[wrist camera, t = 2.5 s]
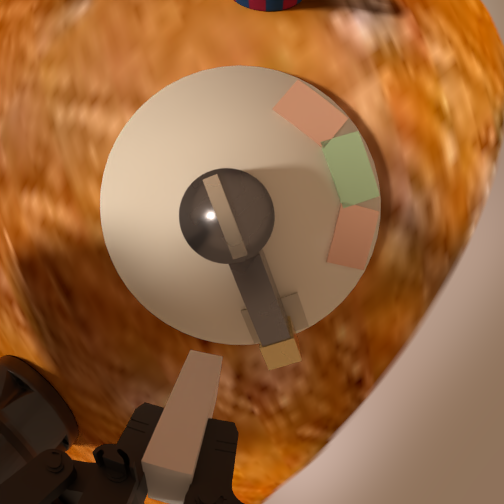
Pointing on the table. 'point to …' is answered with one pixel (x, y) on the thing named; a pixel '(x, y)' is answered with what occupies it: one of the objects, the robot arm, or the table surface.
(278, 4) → the mug
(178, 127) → the dial plate
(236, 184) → the needle
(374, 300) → the table surface
